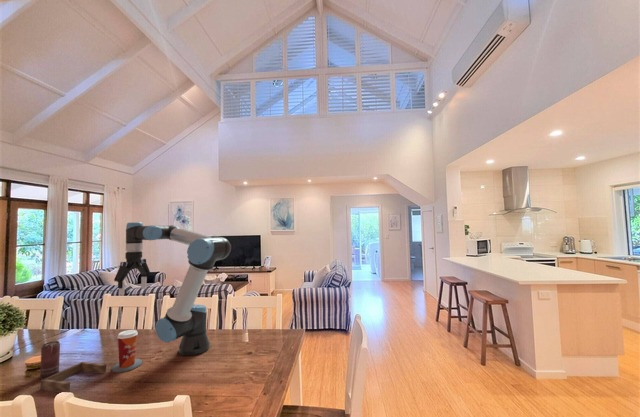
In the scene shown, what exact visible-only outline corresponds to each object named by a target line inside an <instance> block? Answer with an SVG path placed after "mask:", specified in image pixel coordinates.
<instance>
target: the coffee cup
mask: <svg viewBox="0 0 640 417" xmlns="http://www.w3.org/2000/svg"><path fill="white" fill-rule="evenodd" d="M138 335H139V332H138V330H136V329H128V330H123V331H120V332H119V333H118V335H117V337H116V338H117V341H118V342H117V345H118V363H119V367H120V368H126V367H129V366H132V365H133V364H134V363H135V359H136V352H137V350H136V349H137V342H138V341H137V339H138Z"/></svg>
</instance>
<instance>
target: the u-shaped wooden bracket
mask: <svg viewBox="0 0 640 417" xmlns="http://www.w3.org/2000/svg"><path fill="white" fill-rule="evenodd" d="M80 372H86V373H95V374H102V375H103V374H105V373H107V364H106V363H105V364H104V363H96V362H90V361H89V362H88V361H80V362H79V363H76V364H74V365H72V366H71V367H70V366H69V367H67V368H65V369H63V370H61V371H59V373H56V374H54V375H52V376H50V377H47V378H45V379H41V380H40V390H43V391H48V392H55V391H60V392H59V393H62V392H68V393H70V392H71V382H70V381H64V380H66V379H68V378H70V377H73V376H75V375H76V374H78V373H80Z"/></svg>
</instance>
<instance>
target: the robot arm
mask: <svg viewBox="0 0 640 417" xmlns="http://www.w3.org/2000/svg"><path fill="white" fill-rule="evenodd" d="M157 240H158V241H159V240H169V241H173V242H177V243H180V244H184V245H187V246H188V248H187V251H186V254H187V259H188V260H187V261H188V264H189V267H188V269H187V272H186V274H185V276H184V279H183V280H182V283H181V286H180V288H179V290H178V292H177V295H176V297H175V299H174V303H173V304H172V306H170V307H169V308H168V309H167V310H166V312H165V315H164V317H161V318H159V319H158V320H157V321H156V324H155V333H156V336H157V338H158V339H159V340H160V341H161V342H164V343H170V342H174V341H176V340H177V339H180V338H181V340H180V343H179V346H178V354H179V355H181V356H195V355H199V354H202V353H205V352H206V351H209V349H210V347H211V345H210V344H211V343H210V341H209V337H208V334H207V315H208V314H207V313H208V312H207V306H205V305H204V304H195V302H196V299H197V297H198V294H199V292H200V291H201V288H202V286H203V283H204V281H205V278H206V276H207V274H208V271H211V270H213V268H214V266H215V263H216V262H217V261H218V262H219V261H223V260H224V259H226V258H227V257H228V256H229V255H230V253H231V250H232V245H231V243H230V241H229V240H228V239H227V238H226V237H222V236H218V235H212V236H210V235H206V234H202V233H198V232H194V231H192V230H187V229H184V228H180V227H179V226H177V225H144V224H143V222H142V221H141V222H140V221H139V222H127V223H126V228H125V251H126V252H125V255H124V256H125V259H126V260H125V261H120V262H119V263H120V264H119V267H118V270H117V272H116V274H115V277H114V279H113V281H114V282H117V289H118V296H120V295H121V296H124V295H125V284H126V282H125V279H126V277H127V276H128V275H129V273H130V271H132V270H135V269H136V270H138V272H139V273H140V274H141V278H140V283H141V285H140V289H141V290H146V289H147V282H148V277H150V275H151V274H152V273H151V271H150V269H149V266H148V264H147V259H146V258H143V242H144V241H157Z"/></svg>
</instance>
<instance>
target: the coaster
mask: <svg viewBox="0 0 640 417" xmlns="http://www.w3.org/2000/svg"><path fill="white" fill-rule="evenodd" d="M142 364H143V360H142V359H140V358H135V363H134V364H133V365H132V366H129V367H126V368H120V367H119V362H117V363H115V364H114V365H112V367H111V372H113V373H125V372H129V371H132V370H134V369H137V368H140V366H141V365H142Z"/></svg>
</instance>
